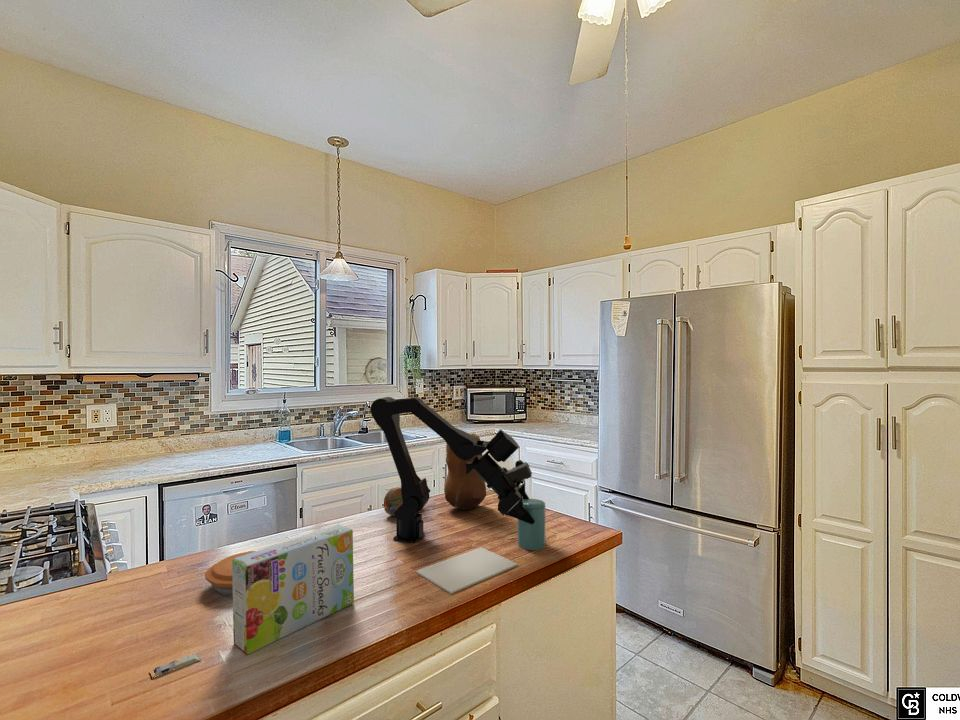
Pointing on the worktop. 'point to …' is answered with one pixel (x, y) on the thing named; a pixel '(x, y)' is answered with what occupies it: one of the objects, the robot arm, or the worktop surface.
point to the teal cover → (532, 526)
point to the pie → (223, 575)
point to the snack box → (291, 586)
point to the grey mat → (466, 569)
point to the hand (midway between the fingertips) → (534, 516)
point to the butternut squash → (463, 482)
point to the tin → (393, 501)
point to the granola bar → (176, 664)
